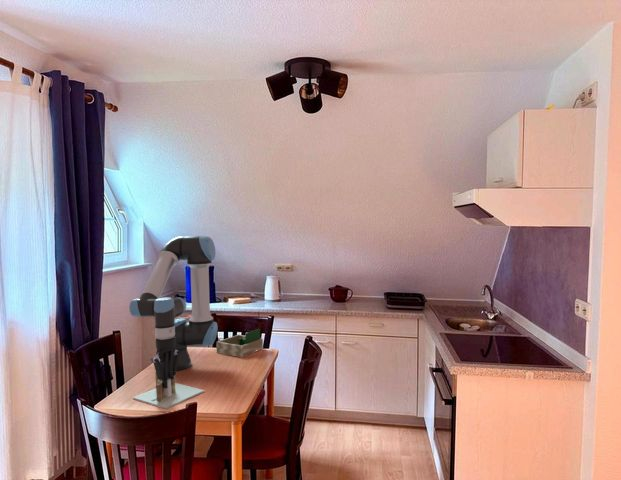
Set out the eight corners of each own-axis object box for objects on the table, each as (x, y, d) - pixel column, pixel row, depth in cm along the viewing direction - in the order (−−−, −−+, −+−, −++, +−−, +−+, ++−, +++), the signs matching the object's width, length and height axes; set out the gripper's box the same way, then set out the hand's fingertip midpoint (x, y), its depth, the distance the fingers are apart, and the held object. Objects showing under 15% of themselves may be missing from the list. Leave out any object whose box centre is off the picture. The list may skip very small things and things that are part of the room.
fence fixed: (154, 389, 189) (154, 371, 188) (158, 388, 190) (158, 370, 190) (172, 394, 183) (172, 376, 182) (176, 393, 184) (176, 374, 184)
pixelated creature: (243, 346, 253) (243, 326, 253) (260, 349, 247) (260, 328, 246) (229, 352, 243) (229, 330, 243) (246, 355, 237) (246, 333, 236)
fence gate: (169, 392, 183) (168, 376, 182) (172, 392, 182) (172, 376, 182) (155, 401, 173) (155, 384, 173) (159, 402, 173) (159, 385, 173)
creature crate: (216, 352, 241) (216, 341, 241) (238, 344, 257) (238, 334, 256) (241, 357, 232) (241, 346, 232) (262, 349, 247) (262, 338, 247)
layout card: (132, 398, 179) (132, 397, 179) (171, 383, 196) (171, 381, 196) (166, 409, 169) (166, 407, 169) (204, 391, 186) (204, 390, 186)
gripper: (158, 342, 168) (161, 402, 169) (184, 334, 179) (186, 391, 180) (145, 339, 172) (148, 399, 173) (171, 332, 183) (174, 388, 184)
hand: (167, 395), depth 176 cm, fingers closed
